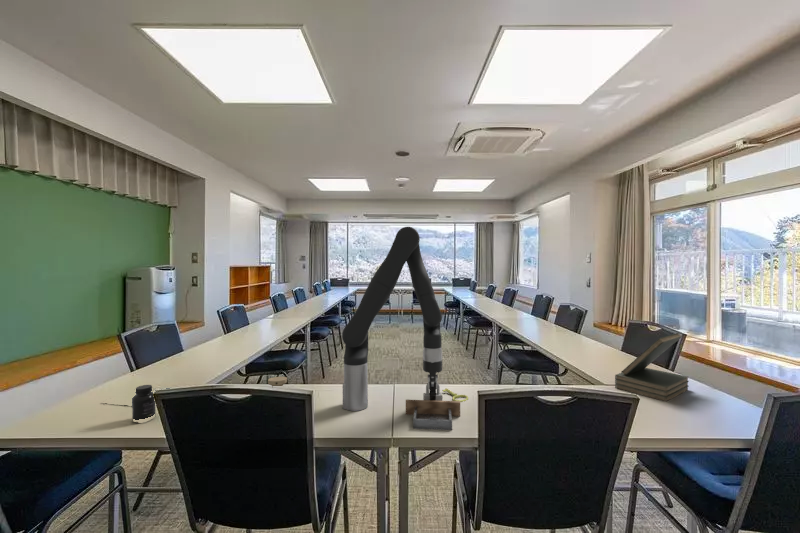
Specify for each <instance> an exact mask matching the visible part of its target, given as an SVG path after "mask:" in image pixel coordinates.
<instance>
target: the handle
mask: <svg viewBox="0 0 800 533" xmlns="http://www.w3.org/2000/svg"><path fill="white" fill-rule="evenodd" d="M267 383H268V385H270V386H272V387H273V386H283V387H284V385H285V384H287V383H288V377H286V376H275V377H270V378H268V380H267Z"/></svg>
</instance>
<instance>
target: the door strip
mask: <svg viewBox="0 0 800 533" xmlns="http://www.w3.org/2000/svg"><path fill="white" fill-rule="evenodd" d="M415 407H417V414H447V415H448V408H451V416H452V417H461V402H460V401H452V400H442V401H438V400H423V399H405V415H413V416H414V411H415Z"/></svg>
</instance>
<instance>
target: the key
mask: <svg viewBox="0 0 800 533" xmlns="http://www.w3.org/2000/svg"><path fill="white" fill-rule="evenodd" d="M442 392H443V393H448V394H450V395H451V396H452V398H451V401H460V403H463V401H464V402H467V401H468V400H469V397H468V395H466V394H458V393H455V392H453V391H452V390H450V389H449V388H445V389H442ZM460 397H461V398H464V397H466V398H464V399H459V398H460ZM466 400H467V401H466Z"/></svg>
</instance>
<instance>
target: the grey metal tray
mask: <svg viewBox="0 0 800 533" xmlns="http://www.w3.org/2000/svg"><path fill="white" fill-rule="evenodd" d="M452 417H453V416H451V408H448V415H447V414H417V407H415V411H414V415H413V417H412V418H413V420H412V425H413V426H412V427H413V430H414V429H417V430H418V429H419V430H420V429H421V430H422V429H423V430H442V431H443V430H445V431H446V430H447V431H452V430H453V418H452Z"/></svg>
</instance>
